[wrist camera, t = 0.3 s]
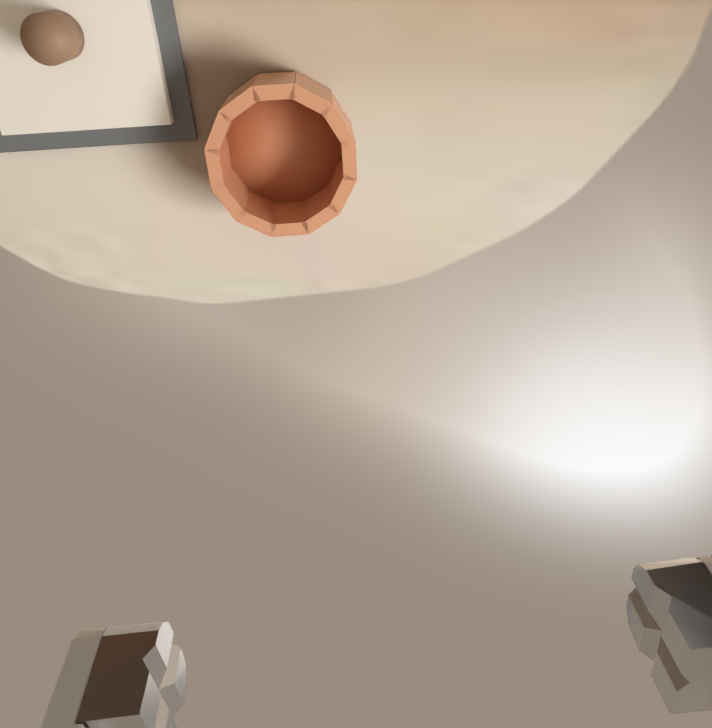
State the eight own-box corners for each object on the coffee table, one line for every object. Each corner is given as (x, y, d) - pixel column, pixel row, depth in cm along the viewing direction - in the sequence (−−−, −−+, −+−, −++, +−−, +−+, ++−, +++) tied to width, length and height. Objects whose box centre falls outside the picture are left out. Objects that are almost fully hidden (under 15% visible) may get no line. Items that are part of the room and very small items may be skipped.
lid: (-60, -69, 42) (-95, -72, 38) (134, -80, 42) (117, -84, 39) (8, 132, 49) (-17, 145, 45) (173, 121, 49) (162, 133, 46)
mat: (-89, -95, 42) (-92, -95, 41) (152, -108, 42) (151, -109, 42) (-2, 151, 50) (-4, 152, 50) (197, 138, 51) (196, 139, 50)
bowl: (205, 76, 48) (193, 89, 43) (347, 67, 48) (351, 79, 43) (228, 215, 54) (220, 240, 49) (355, 206, 54) (359, 230, 49)
